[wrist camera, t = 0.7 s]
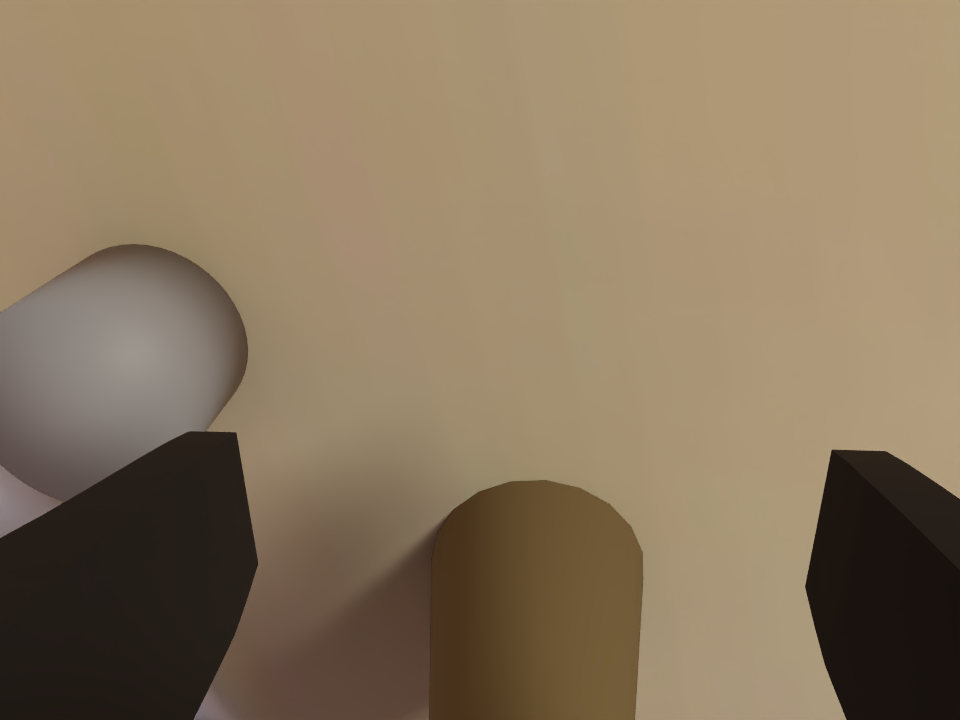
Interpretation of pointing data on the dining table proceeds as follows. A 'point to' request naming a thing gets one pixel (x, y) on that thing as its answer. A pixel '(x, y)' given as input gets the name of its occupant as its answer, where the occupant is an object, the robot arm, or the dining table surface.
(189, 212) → the dining table surface
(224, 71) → the dining table surface
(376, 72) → the dining table surface
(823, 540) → the robot arm
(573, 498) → the cork
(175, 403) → the grey rounded piece
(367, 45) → the dining table surface
